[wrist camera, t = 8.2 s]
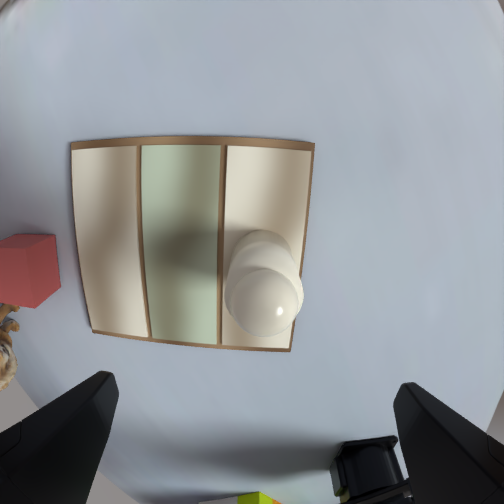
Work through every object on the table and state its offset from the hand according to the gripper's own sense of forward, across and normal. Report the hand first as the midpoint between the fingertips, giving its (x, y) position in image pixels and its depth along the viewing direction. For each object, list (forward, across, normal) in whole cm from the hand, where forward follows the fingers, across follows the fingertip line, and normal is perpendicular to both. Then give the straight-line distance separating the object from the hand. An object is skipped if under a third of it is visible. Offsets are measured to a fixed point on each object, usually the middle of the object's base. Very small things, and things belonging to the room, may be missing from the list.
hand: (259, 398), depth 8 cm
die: (+10, +14, +1) cm, 17 cm away
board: (+12, +5, 0) cm, 13 cm away
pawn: (+11, 0, 0) cm, 11 cm away
